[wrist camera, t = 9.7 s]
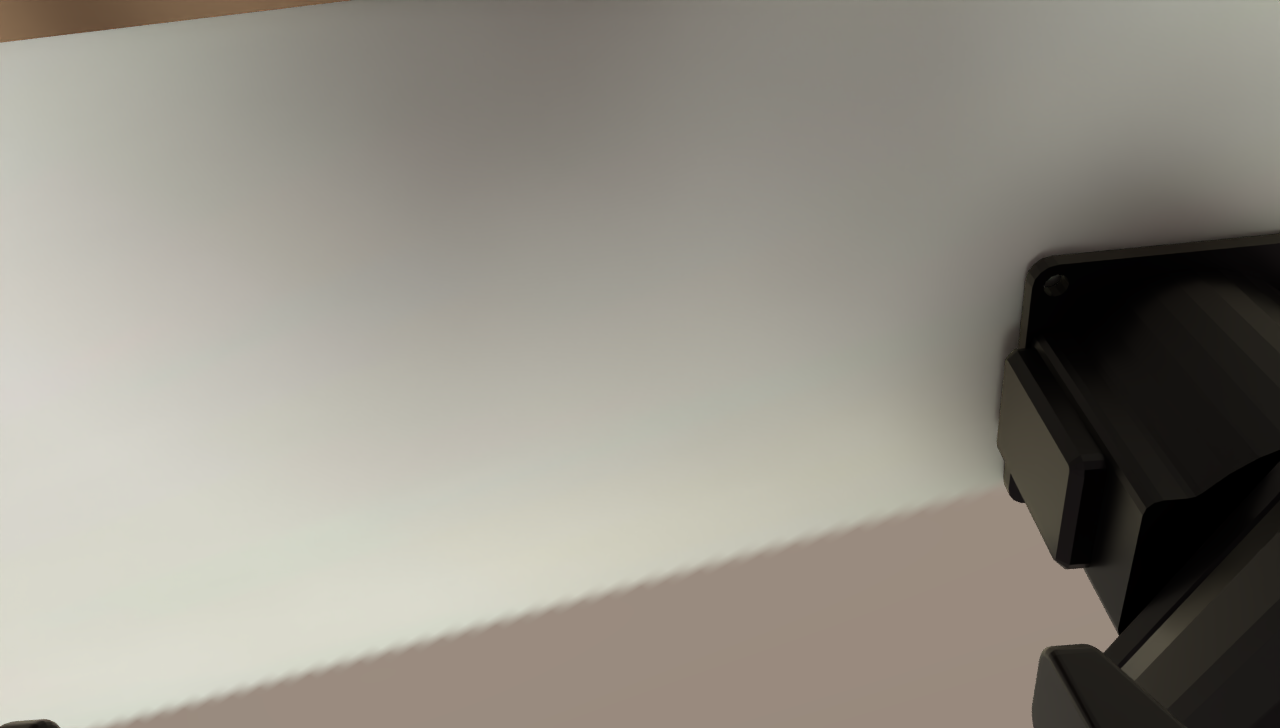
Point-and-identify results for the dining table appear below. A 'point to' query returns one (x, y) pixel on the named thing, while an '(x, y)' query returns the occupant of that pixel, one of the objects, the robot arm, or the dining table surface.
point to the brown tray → (117, 14)
